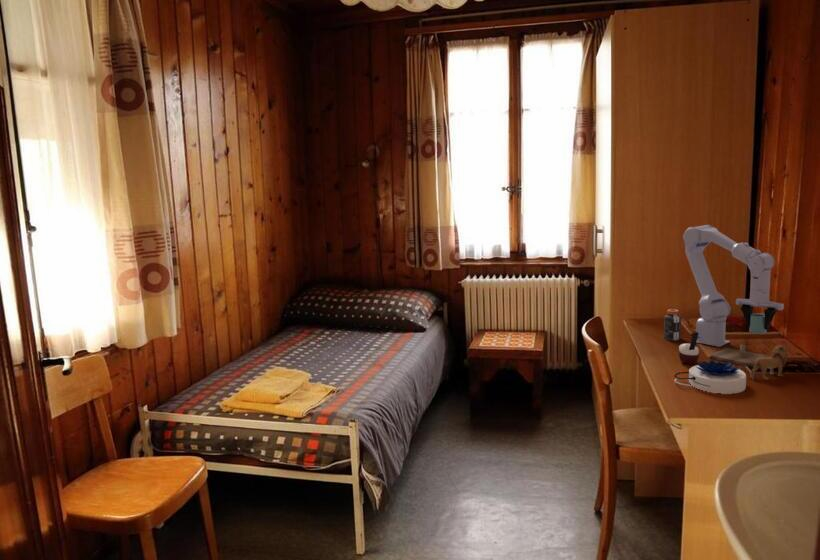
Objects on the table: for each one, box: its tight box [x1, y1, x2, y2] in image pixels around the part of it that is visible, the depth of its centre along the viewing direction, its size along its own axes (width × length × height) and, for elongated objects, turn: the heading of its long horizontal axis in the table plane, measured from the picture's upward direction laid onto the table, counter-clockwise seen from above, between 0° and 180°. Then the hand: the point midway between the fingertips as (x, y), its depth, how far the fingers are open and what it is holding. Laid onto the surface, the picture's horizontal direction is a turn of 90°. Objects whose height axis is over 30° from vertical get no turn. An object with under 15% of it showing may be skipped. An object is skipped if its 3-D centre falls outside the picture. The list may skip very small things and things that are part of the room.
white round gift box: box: [673, 359, 747, 395], centre depth 186 cm, size 7×16×20 cm
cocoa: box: [678, 331, 700, 365], centre depth 205 cm, size 10×6×12 cm
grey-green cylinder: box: [748, 313, 768, 335], centre depth 210 cm, size 5×5×6 cm
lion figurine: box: [749, 345, 788, 381], centre depth 189 cm, size 15×5×9 cm, turn 117°
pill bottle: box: [663, 308, 682, 341], centre depth 234 cm, size 6×6×11 cm
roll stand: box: [709, 344, 772, 369], centre depth 207 cm, size 16×12×5 cm
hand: (758, 327), depth 210 cm, fingers closed on grey-green cylinder, 5 cm apart
